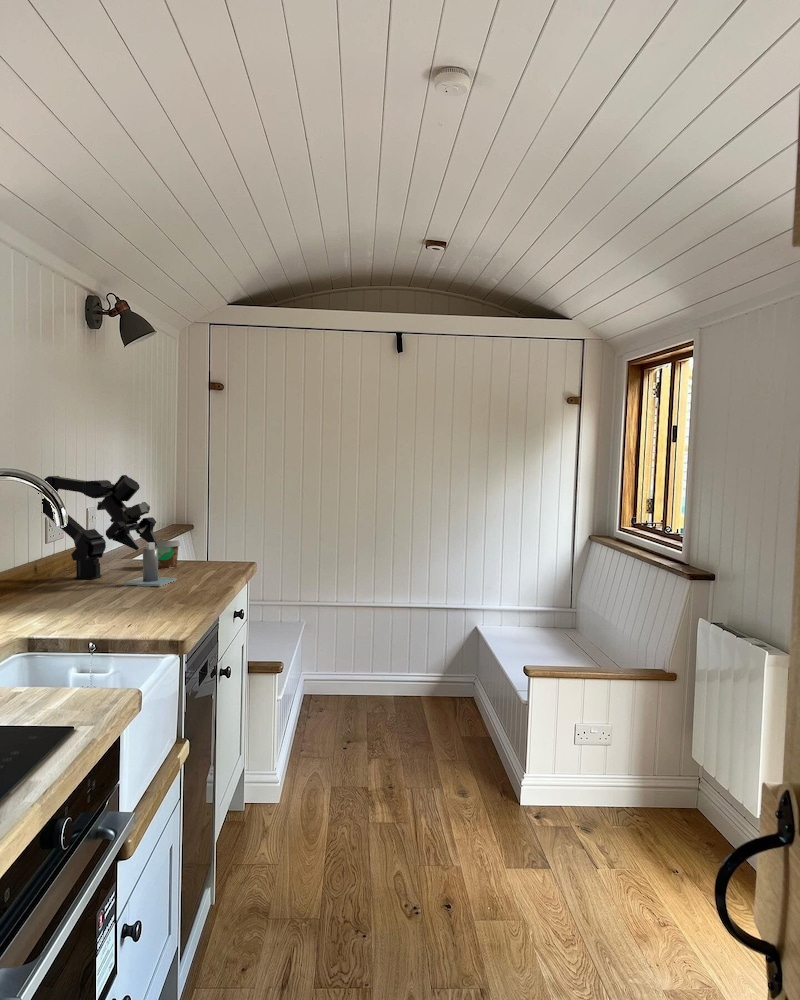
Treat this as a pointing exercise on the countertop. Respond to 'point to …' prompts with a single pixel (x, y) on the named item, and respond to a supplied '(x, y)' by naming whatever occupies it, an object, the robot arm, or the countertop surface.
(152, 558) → the grey tall rounded piece
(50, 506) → the robot arm
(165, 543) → the food container
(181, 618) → the countertop surface
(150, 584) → the coaster
